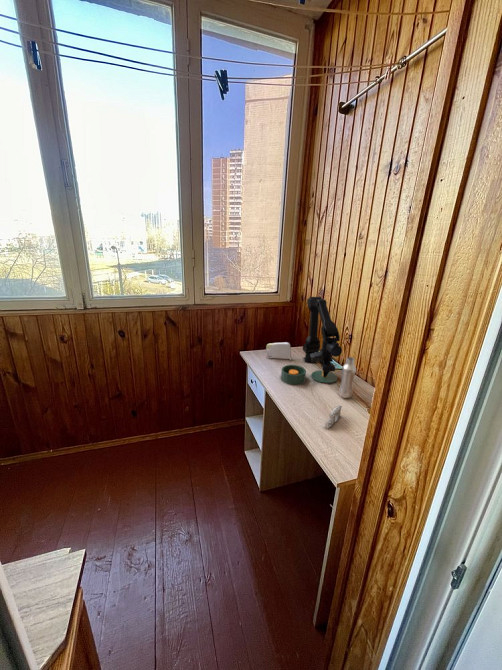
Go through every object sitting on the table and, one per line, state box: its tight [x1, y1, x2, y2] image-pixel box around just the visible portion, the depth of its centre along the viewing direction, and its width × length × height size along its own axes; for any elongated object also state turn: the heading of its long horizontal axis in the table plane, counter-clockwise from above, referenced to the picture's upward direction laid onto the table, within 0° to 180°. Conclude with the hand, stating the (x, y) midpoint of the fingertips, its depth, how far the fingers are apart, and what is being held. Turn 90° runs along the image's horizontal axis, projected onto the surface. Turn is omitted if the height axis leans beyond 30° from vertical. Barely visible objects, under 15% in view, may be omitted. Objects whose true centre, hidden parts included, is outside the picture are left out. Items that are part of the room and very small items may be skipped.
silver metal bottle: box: [338, 356, 357, 399], centre depth 139 cm, size 6×7×20 cm
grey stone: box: [325, 404, 342, 430], centre depth 122 cm, size 12×2×6 cm, turn 140°
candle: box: [289, 370, 298, 375], centre depth 156 cm, size 5×5×4 cm
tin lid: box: [311, 369, 338, 384], centre depth 158 cm, size 14×14×6 cm
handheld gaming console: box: [265, 341, 292, 362], centre depth 180 cm, size 11×3×15 cm
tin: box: [280, 364, 307, 386], centre depth 156 cm, size 13×13×5 cm
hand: (324, 375), depth 159 cm, fingers closed on tin lid, 2 cm apart
